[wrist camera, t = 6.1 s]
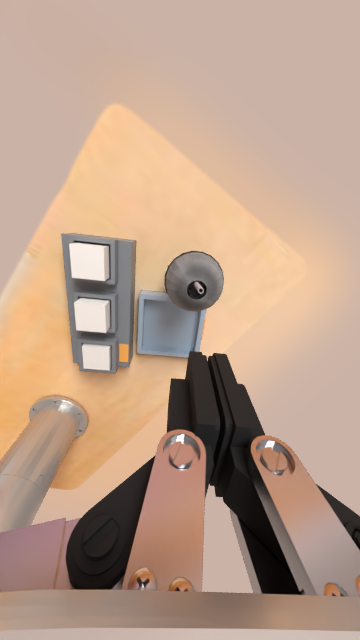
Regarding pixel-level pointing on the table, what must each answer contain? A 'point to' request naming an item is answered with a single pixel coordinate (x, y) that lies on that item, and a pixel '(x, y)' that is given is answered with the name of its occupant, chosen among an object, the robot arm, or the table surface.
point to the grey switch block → (100, 295)
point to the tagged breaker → (97, 356)
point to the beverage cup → (194, 281)
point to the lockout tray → (167, 326)
